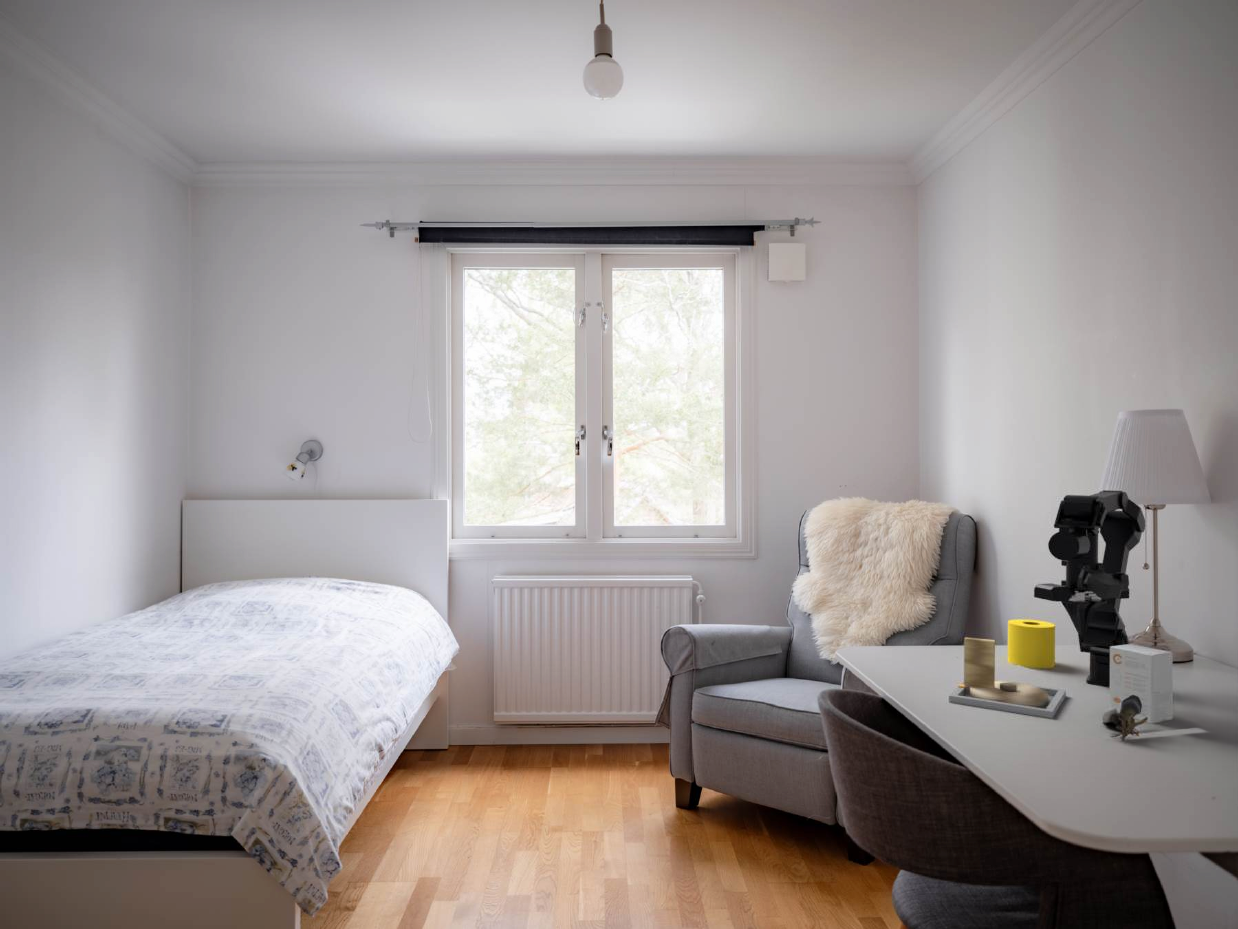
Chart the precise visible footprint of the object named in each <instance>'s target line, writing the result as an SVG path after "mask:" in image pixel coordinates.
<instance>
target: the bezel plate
mask: <svg viewBox="0 0 1238 929" xmlns="http://www.w3.org/2000/svg"><path fill="white" fill-rule="evenodd" d="M995 681H1000V680H998V679H995ZM1025 684H1026V683H1025ZM1026 685H1028V683H1027V684H1026ZM1030 685H1031V686H1034V687H1038V688H1040V689H1042V690H1044V691H1046V692H1047V693H1048V704H1047V705H1046V706H1044V707H1040V708H1036V707H1029V706H1023V705H1017V704H1010V703H1004V702H997V701H991V700H984V699H978V698H972V697H971V696H970V686H964V682H963V683H959V684H958V685H957V688H956V689H955V690H953V691H952V692H951V693H950V694H949V695H948V703H952V704H953V703H954V704H958V705H959V704H960V705H966V706H971V707H977V708H983V709H989V710H997V711H1002V712H1008V713H1009V712H1010V713H1013V714H1014V713H1016V714H1021V715H1027V716H1034V717H1040V718H1044V719H1045V718H1047V719H1050V720H1051V719H1053V718H1054V717H1055V715H1056V713H1057V712H1058V710H1059V709H1060V706H1061V705H1062V703H1063V702H1064V700H1065V699H1066V697H1067V691H1066V689H1061V688H1056V687H1055V688H1054V687H1047V686H1042V685H1041V686H1040V685H1034V684H1033V685H1032V684H1030Z"/></svg>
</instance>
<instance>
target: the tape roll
mask: <svg viewBox="0 0 1238 929" xmlns="http://www.w3.org/2000/svg"><path fill="white" fill-rule="evenodd" d="M1007 663H1008V664H1011V665H1013V666H1019V667H1020V666H1021V667H1023V668H1028V669H1040V668H1044V669H1052V668H1054V666H1056V625H1055V623H1052V622H1049V621H1044V620H1043V621H1042V620H1035V619H1023V618H1021V619H1020V618H1019V619H1017V618H1016V619H1010V620H1008V621H1007Z"/></svg>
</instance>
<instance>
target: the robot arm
mask: <svg viewBox="0 0 1238 929" xmlns="http://www.w3.org/2000/svg"><path fill="white" fill-rule="evenodd" d="M1053 528H1054V529H1058V531H1057V532H1055V533H1054V534H1053V535H1051V537H1050V538H1049V540H1048V543H1047V546H1048V547H1047V548H1048V551H1049V552H1050V554H1051V555H1052V556H1053V557H1054V558H1055V559H1057V560H1060V562H1061V566H1063V567H1065V580H1064V579H1063V580H1060V581H1061V582H1060V584H1056V583H1052V582H1051V583H1049V582H1048V583H1037V584H1036V585H1035V587H1033V588H1034V589H1033V597H1034V598H1036V599H1041V600H1045V601H1050V602H1061V605H1063V607H1064V610H1065V611H1066V612H1067V614H1068V616H1069V618H1070V620H1071V623H1072V624H1073V626H1074V628H1075V630H1076V632H1077V636H1078V642H1079V643H1078V645H1079V651H1080V653H1086V654H1087V653H1088V654H1089V675H1088V676H1087V678H1086V680H1085V683H1088V684H1094V685H1101V686H1108V687H1110V646H1118V645H1126V644H1131V642H1130V640H1129V637H1128V634H1127V632H1126V625H1125V623H1124V621H1123V619H1122V617H1121V615H1120V608H1121V607H1120V606H1121V601H1122V600H1123V599H1124V600H1127V599H1130V587H1129V586H1130V579H1129V574H1127V566H1128V562H1129V561H1128V560H1129V555H1130V551H1132V550H1133V549H1134V548H1135V547H1136V546H1137V545H1138V544H1140V541H1141V537H1142V534H1143V533H1144V532H1145V530H1146V518H1145V515H1144V514H1143V510H1142V508H1141V506H1139V505H1138V504H1136V503H1135V502H1134V501H1133V500H1131V499H1130V498H1129V496H1128V494H1127V492H1126V491H1123V490H1110V489H1109V490H1108V489H1106V490H1102V491H1101V490H1100V491H1099V492H1098V493H1094V494H1090V495H1084V494H1083V495H1082V494H1081V495H1079V494H1078V495H1077V494H1076V495H1075V494H1066V495H1065V496H1064V498H1063V500H1061V501H1060V503H1059V506H1058V510H1057V513H1056V517H1055V521H1054V523H1053ZM1099 534H1100V535H1101V537H1102V539H1103V542H1104V543H1105V546H1104V552H1103V556H1102V557H1103V558H1102V562H1099Z"/></svg>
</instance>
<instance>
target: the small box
mask: <svg viewBox="0 0 1238 929" xmlns="http://www.w3.org/2000/svg"><path fill="white" fill-rule="evenodd" d="M1173 668H1174V666H1173V652H1172V651H1167V650H1163V649H1158V648H1153V647H1148V646H1142V645H1137V644H1133V643H1130V644H1126V645H1118V646H1110V686H1109V710H1112V709H1116V710H1117V712H1118V713H1119V712H1120V709H1121V703H1122V701H1123V700H1125V699H1126V698H1128V697H1129V696H1131V695H1135V696H1138V697H1139V698H1140V700H1141V704H1142V709H1141V713H1140V714H1138V715H1136V716H1135V717H1133V718H1134V720H1138V721H1141V720H1143V719H1144V718H1146V717H1148V719H1147V720H1146V722H1145V723H1149V724H1155V723H1160V722H1165V721H1166V722H1167V721H1170V720H1173V719H1174V718H1173V717H1174V716H1173V698H1174V697H1173V693H1174V692H1173V690H1174V689H1173V688H1174V687H1173V685H1174V684H1173V680H1174V679H1173V674H1174V672H1173Z"/></svg>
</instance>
